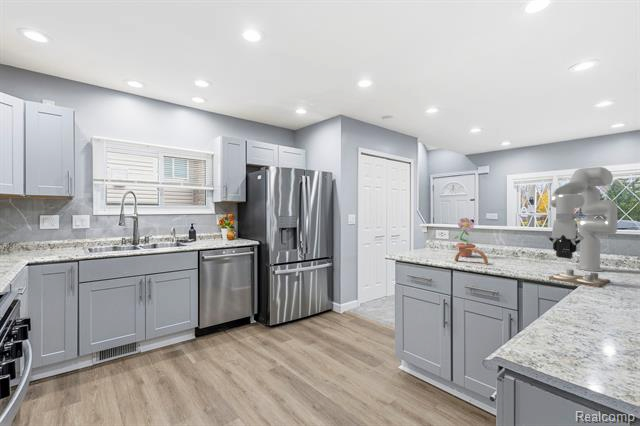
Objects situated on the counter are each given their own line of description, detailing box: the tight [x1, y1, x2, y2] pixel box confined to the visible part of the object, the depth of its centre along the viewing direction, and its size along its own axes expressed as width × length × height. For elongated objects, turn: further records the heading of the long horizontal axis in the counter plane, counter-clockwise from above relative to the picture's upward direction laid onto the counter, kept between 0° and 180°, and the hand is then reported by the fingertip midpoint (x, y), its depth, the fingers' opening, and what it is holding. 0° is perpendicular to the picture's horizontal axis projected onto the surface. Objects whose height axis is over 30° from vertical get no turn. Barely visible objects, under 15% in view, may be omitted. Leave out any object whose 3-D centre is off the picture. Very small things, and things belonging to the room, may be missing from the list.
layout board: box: [548, 268, 611, 288], centre depth 157 cm, size 19×20×4 cm
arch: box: [454, 247, 489, 265], centre depth 209 cm, size 6×20×10 cm, turn 51°
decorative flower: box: [454, 217, 476, 258], centre depth 235 cm, size 15×14×30 cm
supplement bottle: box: [555, 235, 574, 259], centre depth 159 cm, size 7×7×12 cm
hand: (564, 251), depth 159 cm, fingers closed on supplement bottle, 6 cm apart
